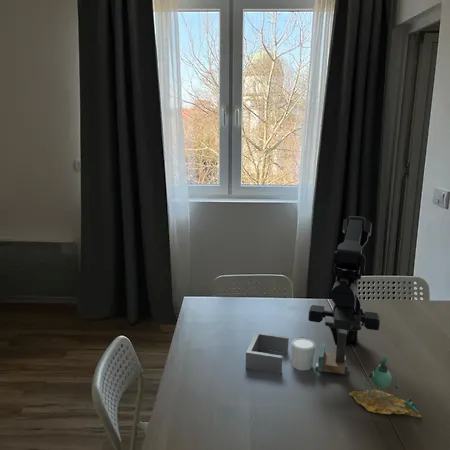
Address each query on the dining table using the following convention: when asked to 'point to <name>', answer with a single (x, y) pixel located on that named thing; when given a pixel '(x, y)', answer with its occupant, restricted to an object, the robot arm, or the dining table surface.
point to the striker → (334, 356)
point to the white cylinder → (302, 353)
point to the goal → (263, 359)
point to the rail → (345, 368)
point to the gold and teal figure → (383, 395)
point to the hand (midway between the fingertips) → (341, 345)
